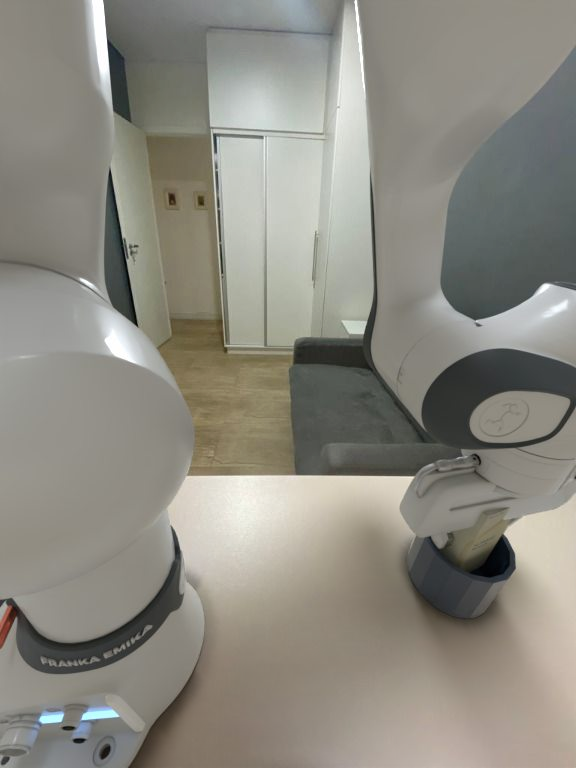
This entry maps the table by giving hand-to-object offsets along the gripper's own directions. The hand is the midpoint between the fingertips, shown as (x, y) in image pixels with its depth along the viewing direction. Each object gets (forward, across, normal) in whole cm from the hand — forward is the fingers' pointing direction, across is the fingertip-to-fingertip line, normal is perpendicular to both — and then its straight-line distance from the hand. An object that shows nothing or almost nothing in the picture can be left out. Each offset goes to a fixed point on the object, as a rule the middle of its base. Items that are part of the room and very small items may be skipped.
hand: (466, 536), depth 38 cm
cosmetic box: (+5, 0, 0) cm, 5 cm away
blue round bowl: (+8, 0, 0) cm, 8 cm away
